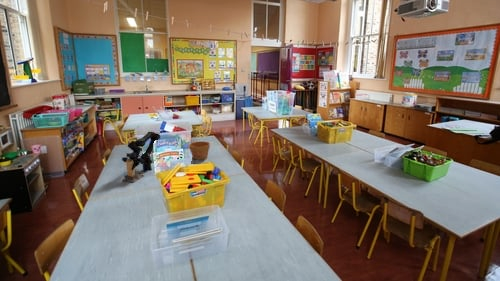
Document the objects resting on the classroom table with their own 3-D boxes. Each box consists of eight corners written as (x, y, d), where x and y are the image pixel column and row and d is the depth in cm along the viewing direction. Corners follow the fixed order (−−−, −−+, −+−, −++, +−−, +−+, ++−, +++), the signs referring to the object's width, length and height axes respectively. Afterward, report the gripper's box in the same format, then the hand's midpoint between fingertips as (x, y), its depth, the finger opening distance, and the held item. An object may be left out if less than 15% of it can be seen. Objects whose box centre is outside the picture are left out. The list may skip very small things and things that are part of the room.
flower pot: (190, 154, 301) (190, 141, 297) (210, 153, 303) (210, 140, 299) (189, 161, 281) (187, 147, 277) (210, 160, 283) (209, 146, 279)
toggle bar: (131, 175, 241) (128, 158, 237) (135, 175, 240) (132, 158, 236) (128, 177, 237) (125, 159, 233) (132, 177, 236) (129, 160, 232)
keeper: (132, 174, 249) (132, 170, 248) (143, 175, 246) (143, 171, 245) (122, 181, 235) (121, 176, 234) (133, 182, 233) (132, 177, 232)
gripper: (121, 148, 238) (114, 165, 231) (140, 149, 234) (134, 166, 226) (128, 154, 248) (122, 170, 240) (147, 155, 243) (141, 172, 236)
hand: (129, 169), depth 236 cm, fingers closed on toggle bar, 4 cm apart
